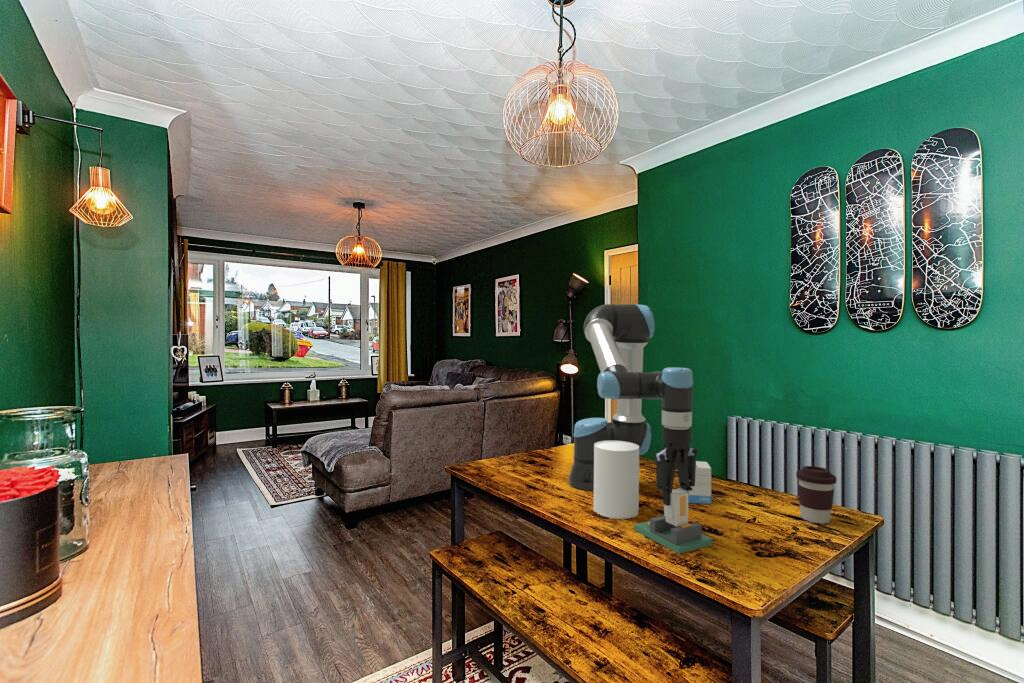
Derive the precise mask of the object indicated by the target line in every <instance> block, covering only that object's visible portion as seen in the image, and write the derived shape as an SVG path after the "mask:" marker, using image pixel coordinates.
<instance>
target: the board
mask: <svg viewBox="0 0 1024 683" xmlns="http://www.w3.org/2000/svg"><path fill="white" fill-rule="evenodd" d="M702 528H703V527H702V524H701V523H699V522H692V523H688V524H686V525H682V526H678V527H677V526H674V525H672V524H670V523H668V522H666V516H664V515H660V516H655V517H652V518H649V521H644V522H640V523H636V524H634V531H636V532H638V533H639V534H641V535H643V536H644V537H647V538H648V539H650V540H652V541H653V542H656V543H658V544H660V545H662V546H664V547H665V548H667V549H669V550H671V551H673V552H674V553H676V554H678V555H680V554H684V553H687V552H690V551H694V550H698V549H702V548H704V547H708V546H712V545H714V542H713V541H714V539H713V537H711V536H708V535H706V534H704V533H702V531H703V530H702Z"/></svg>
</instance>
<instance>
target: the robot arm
mask: <svg viewBox="0 0 1024 683" xmlns="http://www.w3.org/2000/svg"><path fill="white" fill-rule="evenodd" d="M583 333H584V335H585V338H586V340H587V341H588V342H590V344H591V348H592V351H593V353H594V355H595V359H596V362H597V365H598V368H599V371H600V373H599V374H598V376H597V379H596V380H597V381H596V382H597V383H596V388H597V394H598V396H599V397H600V398H602V399H608V400H616V413H615V414H614V415H612V418H611V419H612V421H611V422H608V420H607V418H605V417H589V418H588V417H587V418H583V419H580V420H578V421H576V423H575V424H574V428H573V463H572V466H571V468H570V469H571V470H570V473H569V475H568V484H569V486H571V487H573V488H575V489H580V490H584V491H594V444H595V443H596V442H600V441H625V442H630V443H634V444H637V445H638V446H639V456H642V455H644V454H646V453H647V452H648V451H649V449H650V445H651V440H652V432H651V426H650V424H649V423H648V422H646V417H644V415H643V414H642V403H643V402H642V400H661V425H662V426H661V441H662V442H663V446H662V450H661V451H659V452H654V454H653V455H654V459H655V469H656V470H655V471H656V473H655V474H656V475H655V477H656V490H658V491H661V492H662V503H663V505H664V506H663V516H667V517H669V518H671V519H674V493H672V490H673V487H674V480H675V476H676V469H677V475H678V483H679V484H678V485H679V487H677V488H676V489H678V490H681V491H683V492H686V493H688V495H689V491H691V490H692V488H691V486H693V487H694V486H695V470H696V461H697V455H698V452H699V450H698V449H696V448H692V447H691V445H690V444H691V443H692V441H693V429H692V428H691V427H692V426H693V425H692V424H693V390H694V389H693V385H694V380H693V379H694V378H693V371H692V369H690V368H688V367H678V366H677V367H674V366H673V367H672V366H671V367H665V368H663V370H662V371H661V370H660V371H658V370H657V371H651V372H650V371H645V372H643V370H644V368H643V366H644V347H646V345H648V343H649V339H650V338H653V336H654V334H655V318H654V314H653V312H652V309H651V308H650V307H649V306H648V305H645V304H637V303H635V304H632V303H631V304H609V303H607V304H601V305H599V306H596V307H595V308H593V309H592V310H591V311H590V312H589V313H588V314H587V316H586V318H585V320H584V322H583ZM689 480H691V481H689Z"/></svg>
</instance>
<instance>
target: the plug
mask: <svg viewBox="0 0 1024 683" xmlns="http://www.w3.org/2000/svg"><path fill="white" fill-rule="evenodd" d="M672 493H674V519H671V518H669V517H667V516H666V522H668V523H670V524H672V525H674V526H677V527H678V526H682V525H687V524H689V503H688V493H686V492H683V491H681V490H678V489H677V488H675V489H672Z"/></svg>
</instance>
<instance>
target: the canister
mask: <svg viewBox="0 0 1024 683" xmlns="http://www.w3.org/2000/svg"><path fill="white" fill-rule="evenodd" d="M639 489H640V455H639V446H638V445H637V444H634V443H630V442H625V441H600V442H596V443H595V444H594V490H593V511H594V512H595V513H596V512H597V513H596V514H597V515H599V514H600V516H601V517H605V518H609V519H617V520H618V519H619V520H622V519H623V520H624V519H631V518H635V517H637V516H638V515H639V506H640V505H639V504H640V502H639V500H640V498H639V497H640V496H639V495H640V494H639V492H640V490H639Z"/></svg>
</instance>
